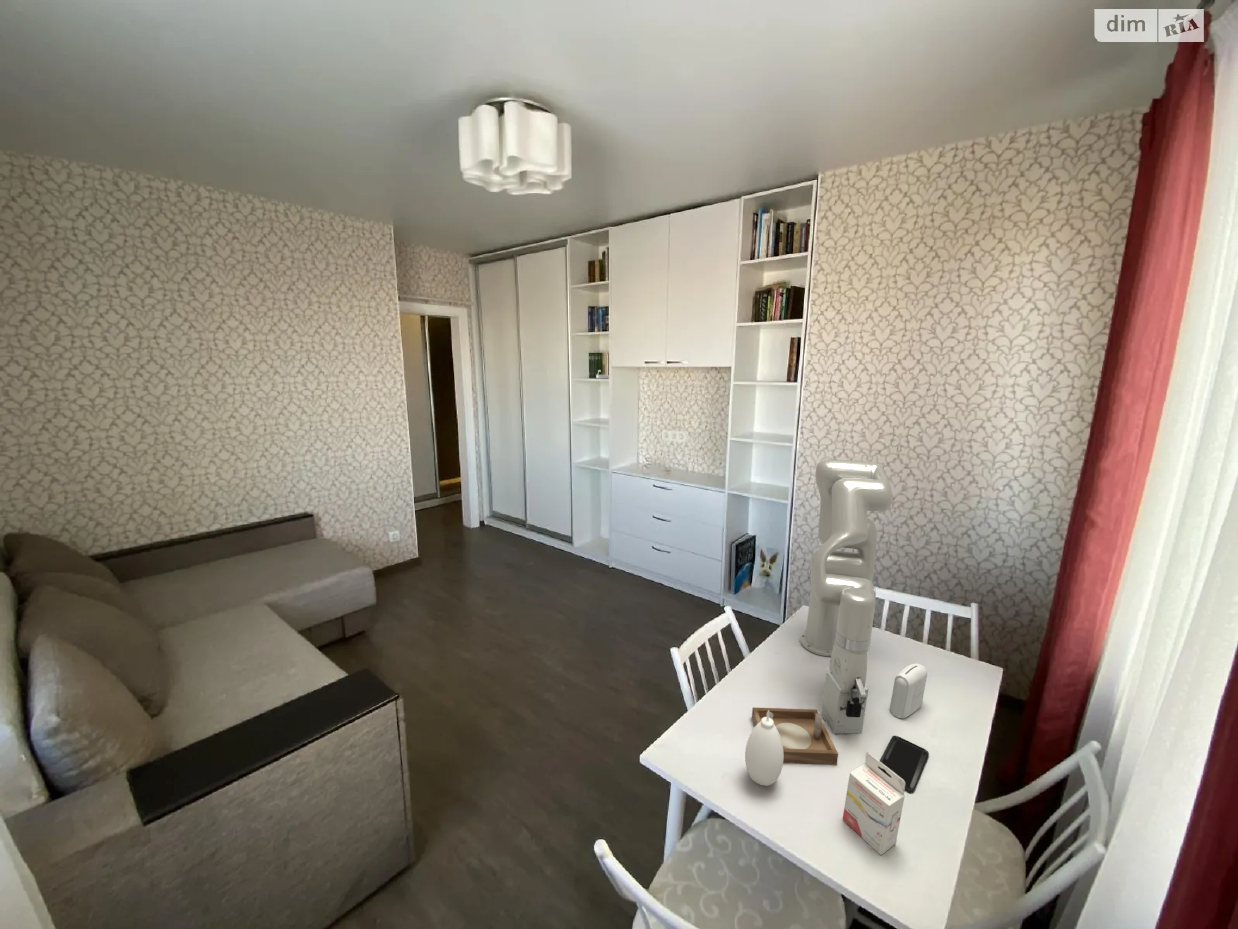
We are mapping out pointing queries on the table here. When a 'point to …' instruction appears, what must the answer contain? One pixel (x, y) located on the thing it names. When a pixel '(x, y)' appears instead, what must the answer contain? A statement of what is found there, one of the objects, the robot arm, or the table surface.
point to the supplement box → (840, 708)
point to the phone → (905, 761)
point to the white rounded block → (908, 690)
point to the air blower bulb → (764, 752)
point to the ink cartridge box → (874, 804)
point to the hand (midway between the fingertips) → (844, 702)
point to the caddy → (801, 735)
